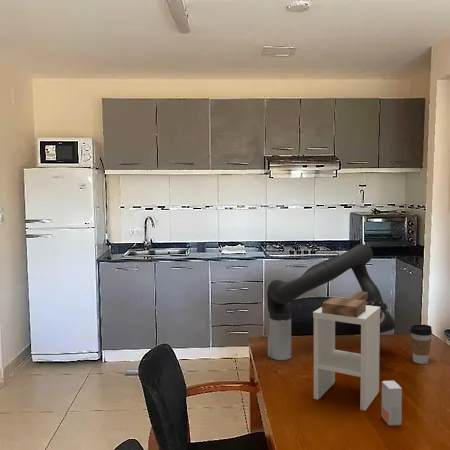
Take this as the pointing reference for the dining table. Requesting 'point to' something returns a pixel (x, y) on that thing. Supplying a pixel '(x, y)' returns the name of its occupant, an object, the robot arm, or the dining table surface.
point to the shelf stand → (347, 353)
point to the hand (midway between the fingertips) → (363, 300)
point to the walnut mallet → (346, 305)
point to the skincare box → (391, 403)
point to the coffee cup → (421, 343)
